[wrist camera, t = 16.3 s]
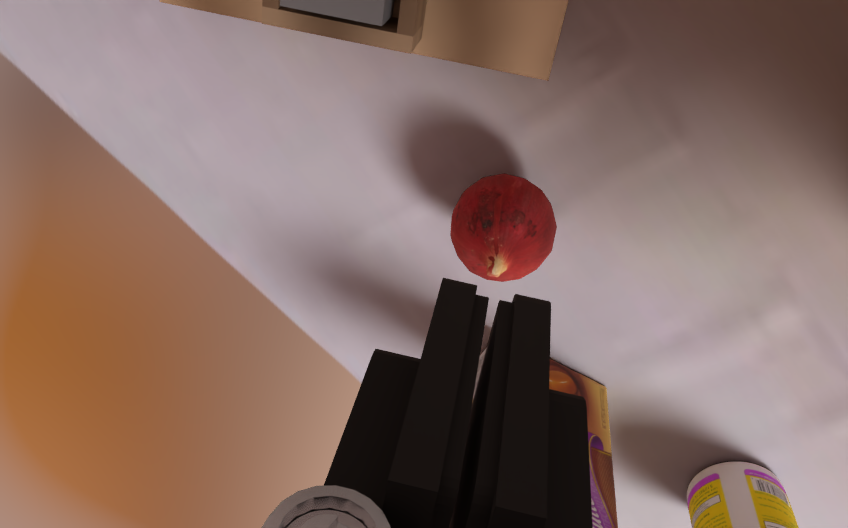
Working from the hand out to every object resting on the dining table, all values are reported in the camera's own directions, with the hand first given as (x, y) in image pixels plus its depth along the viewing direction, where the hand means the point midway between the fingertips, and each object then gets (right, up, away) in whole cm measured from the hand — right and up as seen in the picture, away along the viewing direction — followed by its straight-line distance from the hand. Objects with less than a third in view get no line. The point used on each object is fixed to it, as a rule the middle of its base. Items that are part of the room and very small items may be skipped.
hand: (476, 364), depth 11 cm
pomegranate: (+4, +6, +31) cm, 31 cm away
